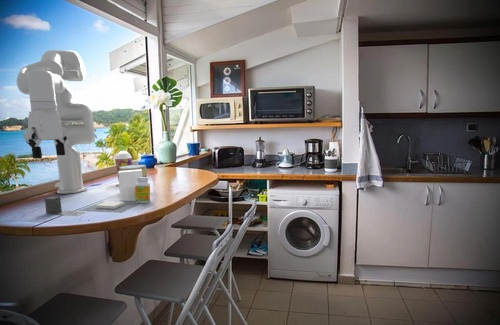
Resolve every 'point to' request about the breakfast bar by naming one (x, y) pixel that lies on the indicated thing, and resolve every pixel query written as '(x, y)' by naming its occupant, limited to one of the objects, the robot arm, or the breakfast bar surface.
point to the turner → (58, 207)
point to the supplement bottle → (142, 190)
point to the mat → (121, 209)
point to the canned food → (134, 168)
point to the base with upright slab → (128, 184)
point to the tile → (110, 205)
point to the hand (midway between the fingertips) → (49, 156)
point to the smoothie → (122, 160)
